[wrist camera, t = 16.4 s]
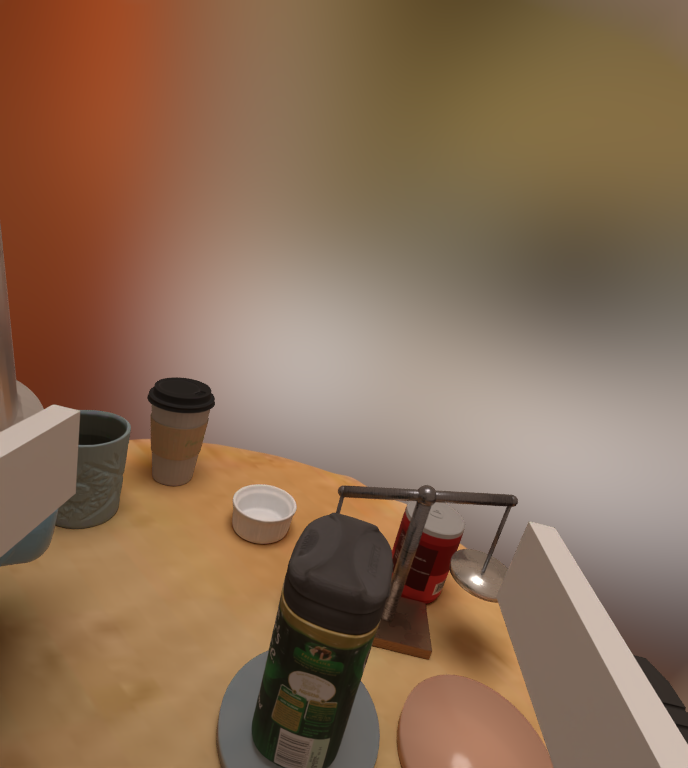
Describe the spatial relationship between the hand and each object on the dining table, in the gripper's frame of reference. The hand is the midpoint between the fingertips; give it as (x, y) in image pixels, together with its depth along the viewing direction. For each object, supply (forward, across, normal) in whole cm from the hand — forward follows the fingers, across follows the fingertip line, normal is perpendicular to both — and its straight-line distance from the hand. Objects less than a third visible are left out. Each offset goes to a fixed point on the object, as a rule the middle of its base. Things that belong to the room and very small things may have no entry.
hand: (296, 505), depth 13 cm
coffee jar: (+17, +4, -32) cm, 37 cm away
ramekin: (+43, -6, -34) cm, 56 cm away
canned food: (+39, +16, -34) cm, 54 cm away
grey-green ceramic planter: (+38, -29, -34) cm, 59 cm away
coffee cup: (+50, -22, -34) cm, 65 cm away
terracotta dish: (+18, +20, -34) cm, 43 cm away
